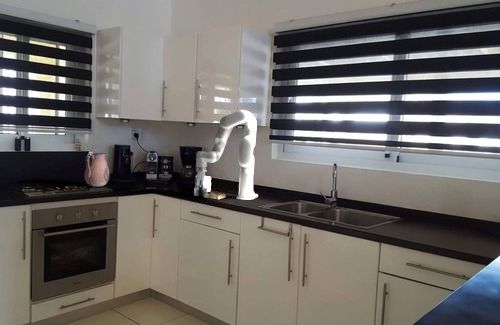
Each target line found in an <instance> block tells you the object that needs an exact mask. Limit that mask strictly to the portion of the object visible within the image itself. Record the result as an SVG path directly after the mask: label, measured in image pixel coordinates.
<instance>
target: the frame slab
mask: <svg viewBox="0 0 500 325" xmlns="http://www.w3.org/2000/svg"><path fill="white" fill-rule="evenodd" d="M198 190H199V187H195V186H194V190H193V191H194V192H193V197H195V196H197V197H199V196H198ZM208 192H209V191H208V188H205V187H203V196H202V197H204V196H205V194H208Z"/></svg>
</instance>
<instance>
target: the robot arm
mask: <svg viewBox="0 0 500 325" xmlns="http://www.w3.org/2000/svg"><path fill="white" fill-rule="evenodd" d="M241 124H243V125H244V126H243V127H244V128H243V135H242V136H243V137H242V138H241V139H240V141H239V145H238V146H239V147H238V156H237V162H238V165H239V180H238V181H239V184H238V195H236V199H238V200H246V201H247V200H249V201H250V200H254V199H256V198H258V196H259V195H258V193H255V191H254V173H255V171H254V170H255V155H254V149H255V147H256V138H257V129H258V128H257V126H258V125H257V119H256V117H255V116H254V114H253V113H252V112H250V111H248V110H245V109H240V110H237V111H234V112H232V113H229V114H227V115H225V116H223V117H221V119H220V120H219V127H218V130H217V132H216V133H215V138H214V139H215V140H214V141H215V142H214V144H213V145H214V146H213V147H212V149H211V151H206V150H199V151H196V155H195V156H196V158H195V160H196V164H195V171H196V176H197V186H198V185H199V190H198V196H197V197H204V196H203V186H204V182H205V176H206V172H208V163H211V164H213V163H217V162H218V161H219V160H220V159H221V156H222V155H223V153H224V150H225V147H226V144H227V142H228V140H229V137H230V136H231V135H230V134H231V133H232V131H233V128H234V127H235V126H238V125H241Z"/></svg>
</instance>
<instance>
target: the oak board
mask: <svg viewBox="0 0 500 325" xmlns="http://www.w3.org/2000/svg"><path fill="white" fill-rule="evenodd" d="M226 196H227V195H226V193H221V192H214V191H213V192H212V191H210V193H207V194H205V196H203V198H205V199H206V198H207V199H214V200H220V199H224V198H226Z"/></svg>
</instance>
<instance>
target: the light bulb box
mask: <svg viewBox="0 0 500 325" xmlns="http://www.w3.org/2000/svg"><path fill="white" fill-rule="evenodd" d="M211 180H212V176H207V175H205V182H204V186H203V187H205V188H208V192H211V186H212V182H211ZM194 184H195V186H194V188H195V187H199V185H198V186H197V175H195V182H194Z"/></svg>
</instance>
